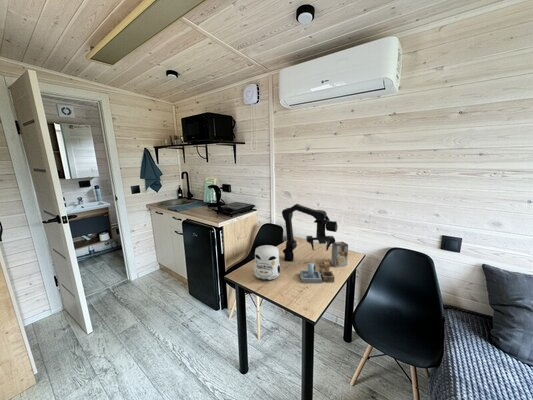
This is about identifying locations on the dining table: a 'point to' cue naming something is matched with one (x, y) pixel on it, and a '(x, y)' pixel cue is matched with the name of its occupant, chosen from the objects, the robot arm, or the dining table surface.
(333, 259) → the coffee box
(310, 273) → the dowel
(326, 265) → the light wooden block
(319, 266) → the tan cardboard box
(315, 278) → the tray
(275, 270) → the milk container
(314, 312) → the dining table surface
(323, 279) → the socket block
